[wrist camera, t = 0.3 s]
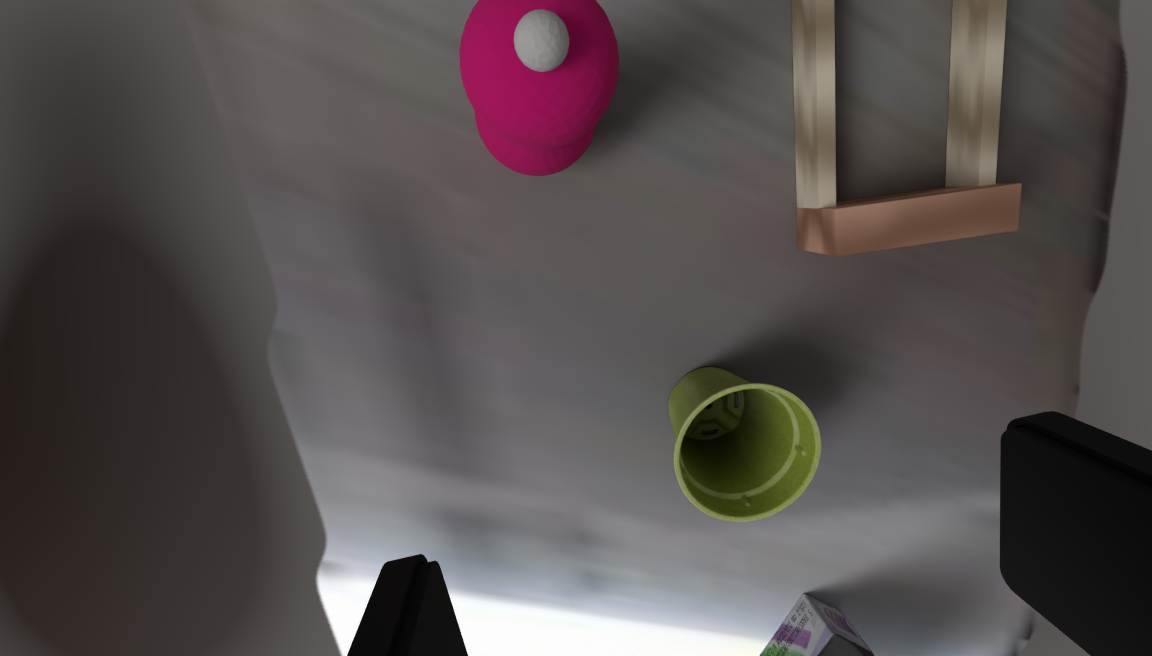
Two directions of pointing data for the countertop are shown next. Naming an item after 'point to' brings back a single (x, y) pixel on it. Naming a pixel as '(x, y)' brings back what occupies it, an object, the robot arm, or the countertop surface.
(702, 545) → the countertop surface
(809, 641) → the cake pan box
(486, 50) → the pepper mill
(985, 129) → the guide track
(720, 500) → the plant pot
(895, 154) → the countertop surface
